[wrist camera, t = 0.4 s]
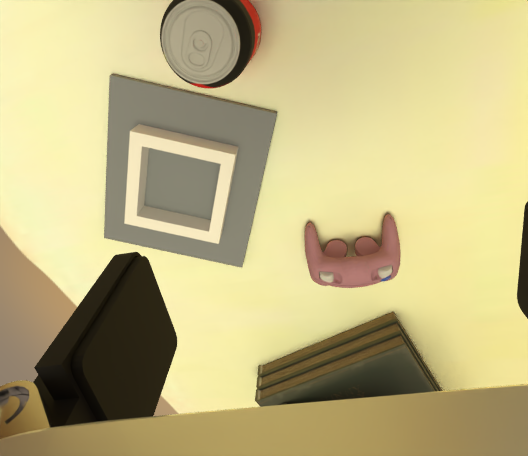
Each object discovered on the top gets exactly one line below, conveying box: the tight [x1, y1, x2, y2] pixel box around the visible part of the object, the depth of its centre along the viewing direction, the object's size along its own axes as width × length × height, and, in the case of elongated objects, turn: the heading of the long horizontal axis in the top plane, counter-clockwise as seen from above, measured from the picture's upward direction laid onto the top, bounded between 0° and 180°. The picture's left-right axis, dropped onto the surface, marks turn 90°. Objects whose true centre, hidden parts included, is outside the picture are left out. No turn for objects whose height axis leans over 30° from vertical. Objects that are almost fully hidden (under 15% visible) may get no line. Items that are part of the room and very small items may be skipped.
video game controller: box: [305, 214, 400, 288], centre depth 45 cm, size 10×5×7 cm, turn 99°
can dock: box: [104, 74, 277, 267], centre depth 44 cm, size 18×16×3 cm
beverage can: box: [160, 0, 261, 88], centre depth 33 cm, size 6×6×12 cm
